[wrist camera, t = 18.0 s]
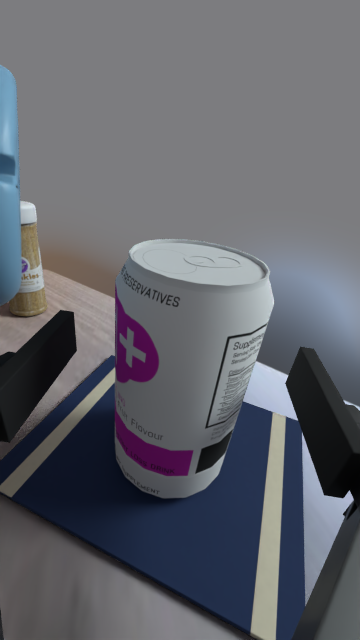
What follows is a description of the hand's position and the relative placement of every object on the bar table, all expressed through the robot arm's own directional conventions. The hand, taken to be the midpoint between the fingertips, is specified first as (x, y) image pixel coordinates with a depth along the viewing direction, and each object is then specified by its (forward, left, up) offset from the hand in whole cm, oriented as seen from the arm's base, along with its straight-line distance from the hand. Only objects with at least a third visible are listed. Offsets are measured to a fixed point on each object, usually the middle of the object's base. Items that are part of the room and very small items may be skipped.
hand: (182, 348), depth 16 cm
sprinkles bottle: (-25, +12, -10) cm, 29 cm away
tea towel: (0, +1, -10) cm, 10 cm away
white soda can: (0, 0, -10) cm, 10 cm away
